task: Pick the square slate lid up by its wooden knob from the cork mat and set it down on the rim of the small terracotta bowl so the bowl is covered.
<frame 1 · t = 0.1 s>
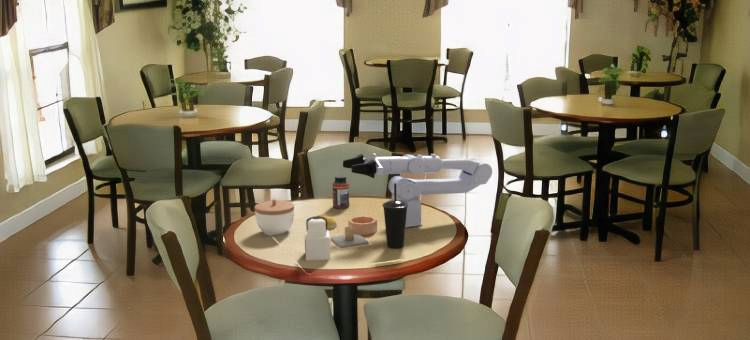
hand: (347, 166, 244), 22 cm above the table, tool horizontal, fingers open, 7 cm apart
bowl: (362, 231, 248), on the table
drinking cup: (395, 248, 233), on the table
lidded bowl: (275, 233, 249), on the table
bread roll: (323, 228, 254), on the table
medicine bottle: (317, 258, 225), on the table
mat: (349, 243, 237), on the table
lid: (349, 241, 237), resting on mat
supplement bottle: (341, 207, 278), on the table
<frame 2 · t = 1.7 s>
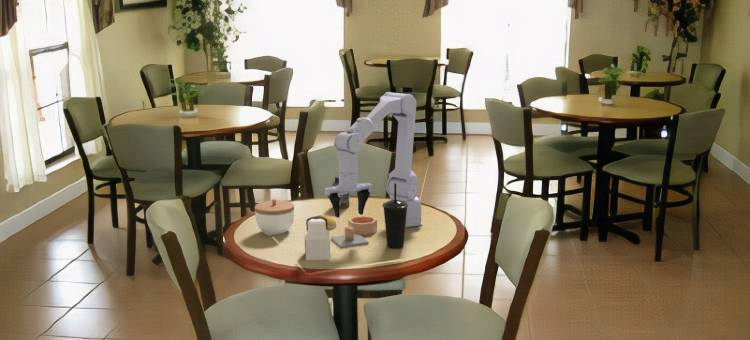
hand: (349, 215, 235), 9 cm above the table, tool pointing down, fingers open, 7 cm apart
nothing on the table moved.
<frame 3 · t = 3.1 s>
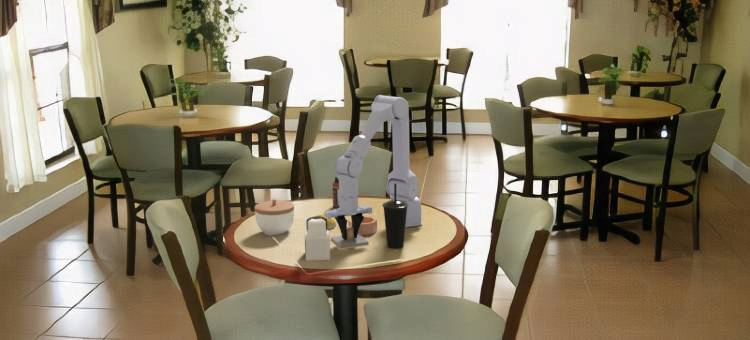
hand: (349, 238, 237), 2 cm above the table, tool pointing down, fingers closed on lid, 3 cm apart
lid: (349, 241, 237), resting on mat, touching gripper
everything else where it was.
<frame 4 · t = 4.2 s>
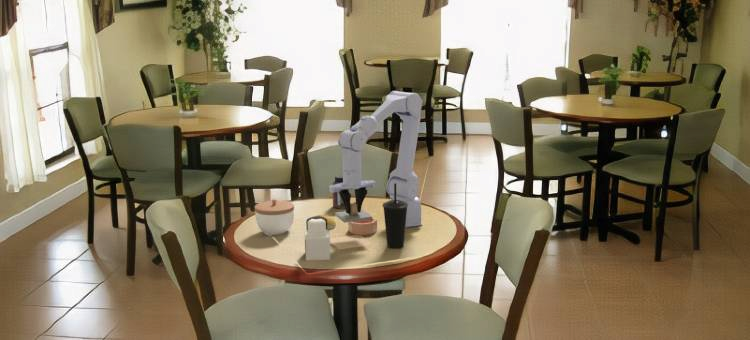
hand: (353, 212, 238), 9 cm above the table, tool pointing down, fingers closed on lid, 3 cm apart
lid: (353, 217, 238), point 8 cm above the table, touching gripper
everything else where it was.
when the fingers open (6 cm above the table, at t = 5.4 s): lid stays where it is, resting on bowl.
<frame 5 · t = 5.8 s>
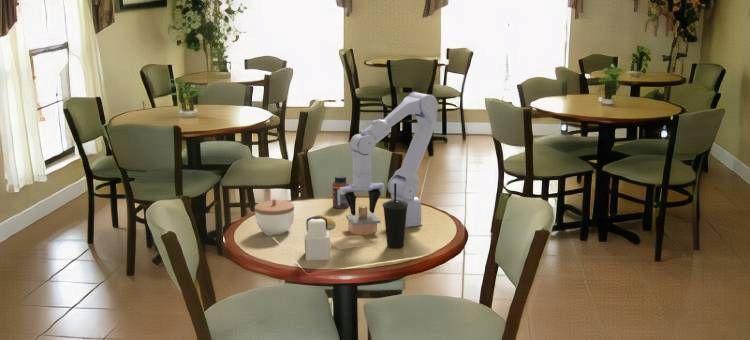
hand: (362, 213, 247), 6 cm above the table, tool pointing down, fingers open, 6 cm apart
lid: (363, 220, 247), point 4 cm above the table, touching bowl
everything else where it was.
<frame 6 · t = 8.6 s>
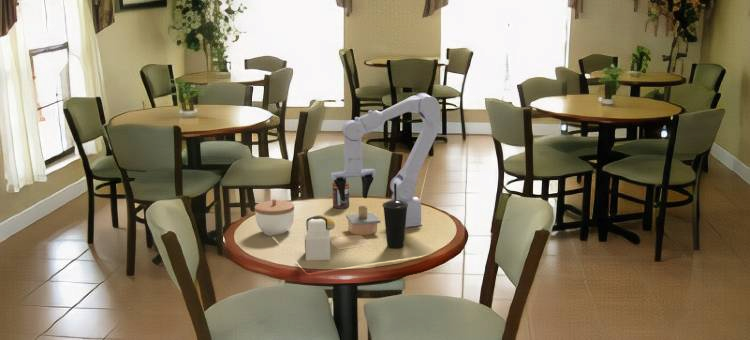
hand: (353, 198, 250), 10 cm above the table, tool pointing down, fingers open, 7 cm apart
nothing on the table moved.
at the end: lid 0.3 cm from the bowl (horizontally); lid point 4.0 cm above the table; lid tilted 0° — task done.
